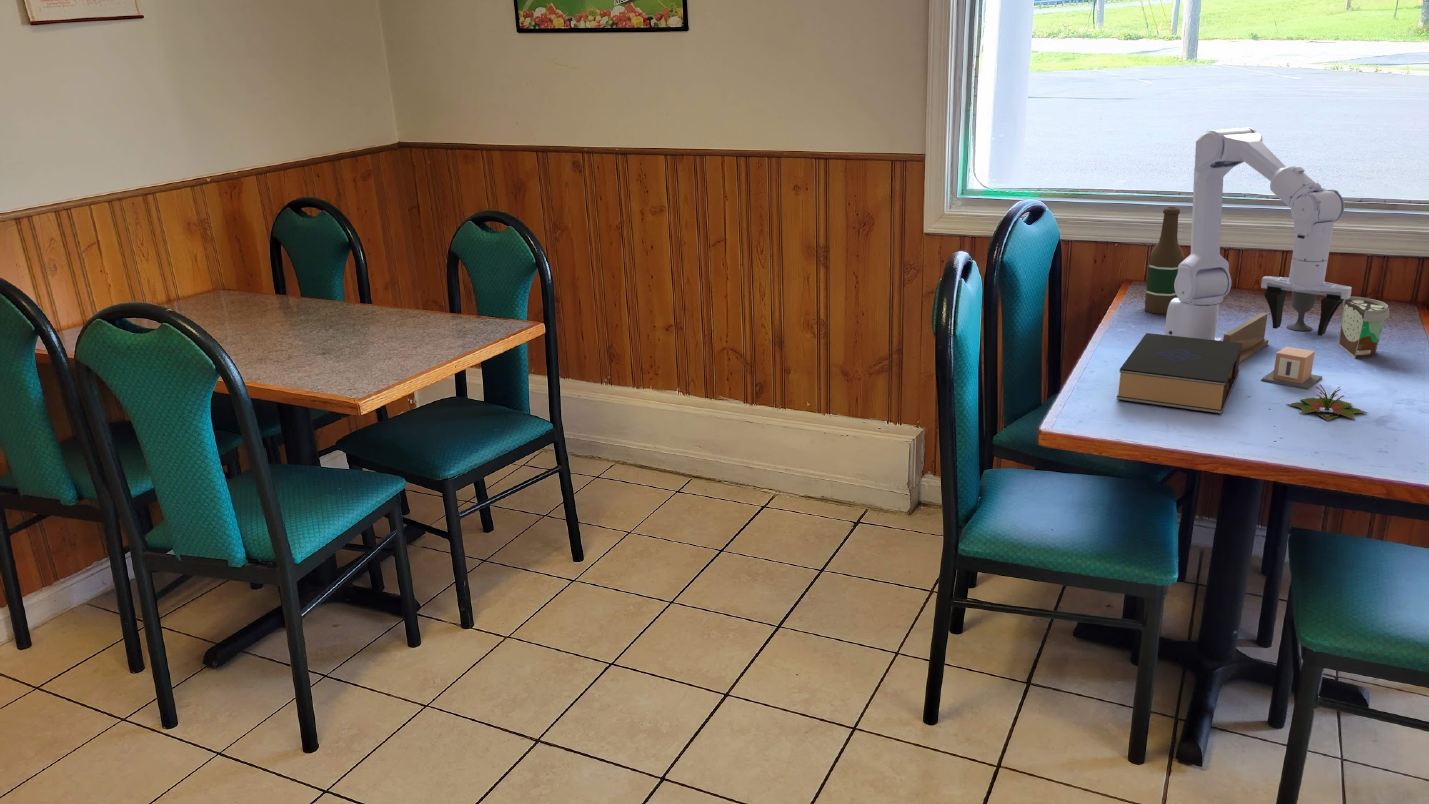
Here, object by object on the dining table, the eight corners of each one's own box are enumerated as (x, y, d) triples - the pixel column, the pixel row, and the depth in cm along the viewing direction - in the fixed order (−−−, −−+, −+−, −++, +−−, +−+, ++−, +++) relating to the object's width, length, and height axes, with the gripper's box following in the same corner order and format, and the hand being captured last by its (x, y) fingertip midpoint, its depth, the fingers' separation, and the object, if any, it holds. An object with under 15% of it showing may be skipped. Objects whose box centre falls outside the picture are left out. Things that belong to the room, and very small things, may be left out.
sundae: (1309, 334, 222) (1321, 264, 217) (1277, 328, 227) (1287, 260, 222) (1322, 327, 226) (1333, 259, 221) (1289, 322, 231) (1299, 255, 226)
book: (1238, 376, 201) (1243, 343, 198) (1220, 418, 181) (1225, 381, 178) (1142, 364, 209) (1146, 332, 207) (1116, 403, 189) (1119, 368, 187)
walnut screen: (1215, 365, 206) (1219, 333, 204) (1252, 341, 219) (1256, 311, 217) (1230, 368, 204) (1235, 336, 202) (1267, 344, 217) (1272, 314, 215)
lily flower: (1327, 429, 174) (1331, 403, 173) (1271, 406, 185) (1274, 381, 184) (1383, 418, 178) (1388, 393, 176) (1324, 396, 188) (1328, 372, 187)
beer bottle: (1184, 314, 240) (1196, 209, 232) (1150, 315, 241) (1161, 211, 233) (1171, 305, 248) (1182, 204, 240) (1138, 306, 248) (1148, 205, 240)
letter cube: (1282, 371, 199) (1286, 346, 198) (1310, 376, 196) (1314, 351, 194) (1272, 378, 196) (1275, 353, 194) (1300, 384, 193) (1304, 358, 191)
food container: (1392, 361, 204) (1401, 311, 200) (1357, 360, 205) (1366, 311, 201) (1368, 343, 215) (1377, 295, 212) (1335, 342, 216) (1343, 295, 213)
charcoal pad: (1261, 380, 196) (1261, 378, 196) (1276, 370, 202) (1276, 368, 202) (1307, 389, 191) (1307, 387, 191) (1321, 378, 196) (1322, 376, 196)
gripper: (1259, 257, 191) (1249, 328, 196) (1347, 267, 181) (1334, 342, 186) (1273, 250, 196) (1263, 320, 201) (1359, 260, 186) (1347, 333, 191)
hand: (1298, 330), depth 194 cm, fingers open, 7 cm apart
